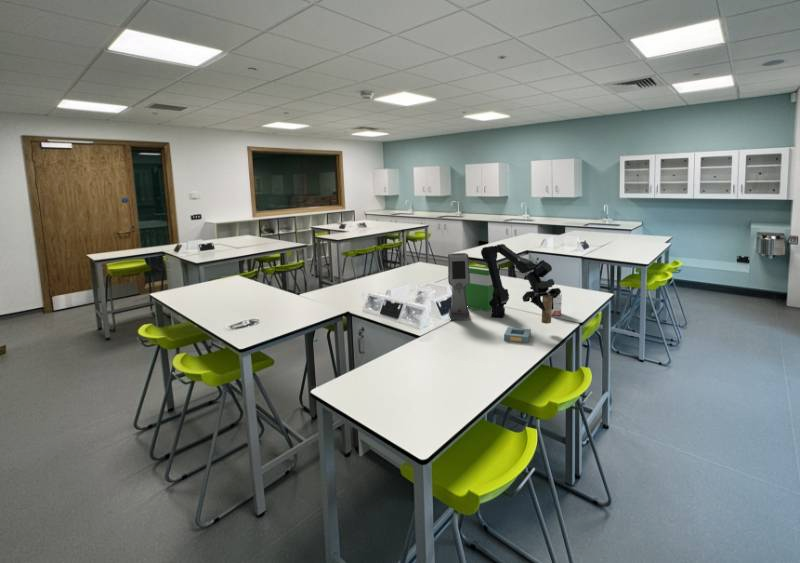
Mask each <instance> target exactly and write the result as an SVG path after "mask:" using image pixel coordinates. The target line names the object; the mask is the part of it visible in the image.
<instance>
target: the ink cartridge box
mask: <svg viewBox="0 0 800 563" xmlns="http://www.w3.org/2000/svg"><path fill="white" fill-rule="evenodd" d="M551 289H552V288H549V289H548V290H547V292H549V291H550V290H551ZM562 295H563V293H562V292H561V293H560V294H559V295H558V296H557V297H556V298H553V307H554V309H553V310H552V313H551V316H557V315H560V314H562V303H563V302H562V300H563V298H562V297H563V296H562ZM560 316H561V315H560Z"/></svg>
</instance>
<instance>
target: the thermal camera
mask: <svg viewBox="0 0 800 563" xmlns="http://www.w3.org/2000/svg"><path fill="white" fill-rule="evenodd" d="M469 265H470V261H469V254H468V253H467V252H463V253H462V252H460V253H449V254H447V271H448V272H447V273H448V274H447V278H448V282H447V283H448V284H449V285H450V286H451V306H450V307H449V309H448V318H449V317H450V319H451V320H450V319H449V320H450V321H469V320H471V314H470V310H469V307H467V299H466V286H467V285H468V284H469V283H470V273H469Z"/></svg>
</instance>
